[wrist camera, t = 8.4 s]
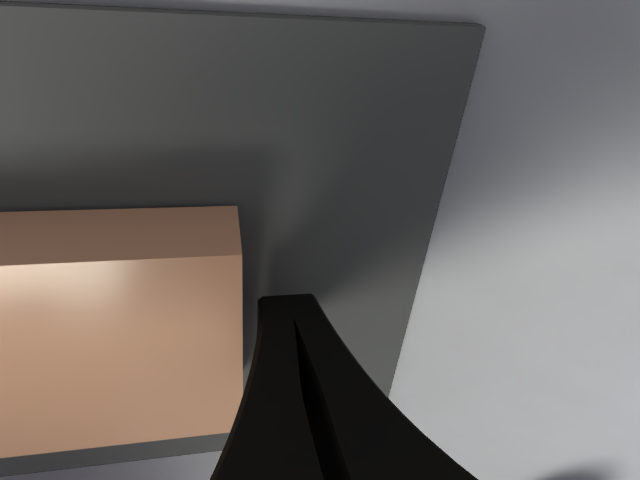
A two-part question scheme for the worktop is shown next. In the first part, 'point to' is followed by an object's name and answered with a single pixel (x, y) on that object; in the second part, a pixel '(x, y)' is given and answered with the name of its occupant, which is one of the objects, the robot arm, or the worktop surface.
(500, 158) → the worktop surface
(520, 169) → the worktop surface
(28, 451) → the tile
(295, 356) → the robot arm
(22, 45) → the mat
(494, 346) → the worktop surface
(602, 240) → the worktop surface
